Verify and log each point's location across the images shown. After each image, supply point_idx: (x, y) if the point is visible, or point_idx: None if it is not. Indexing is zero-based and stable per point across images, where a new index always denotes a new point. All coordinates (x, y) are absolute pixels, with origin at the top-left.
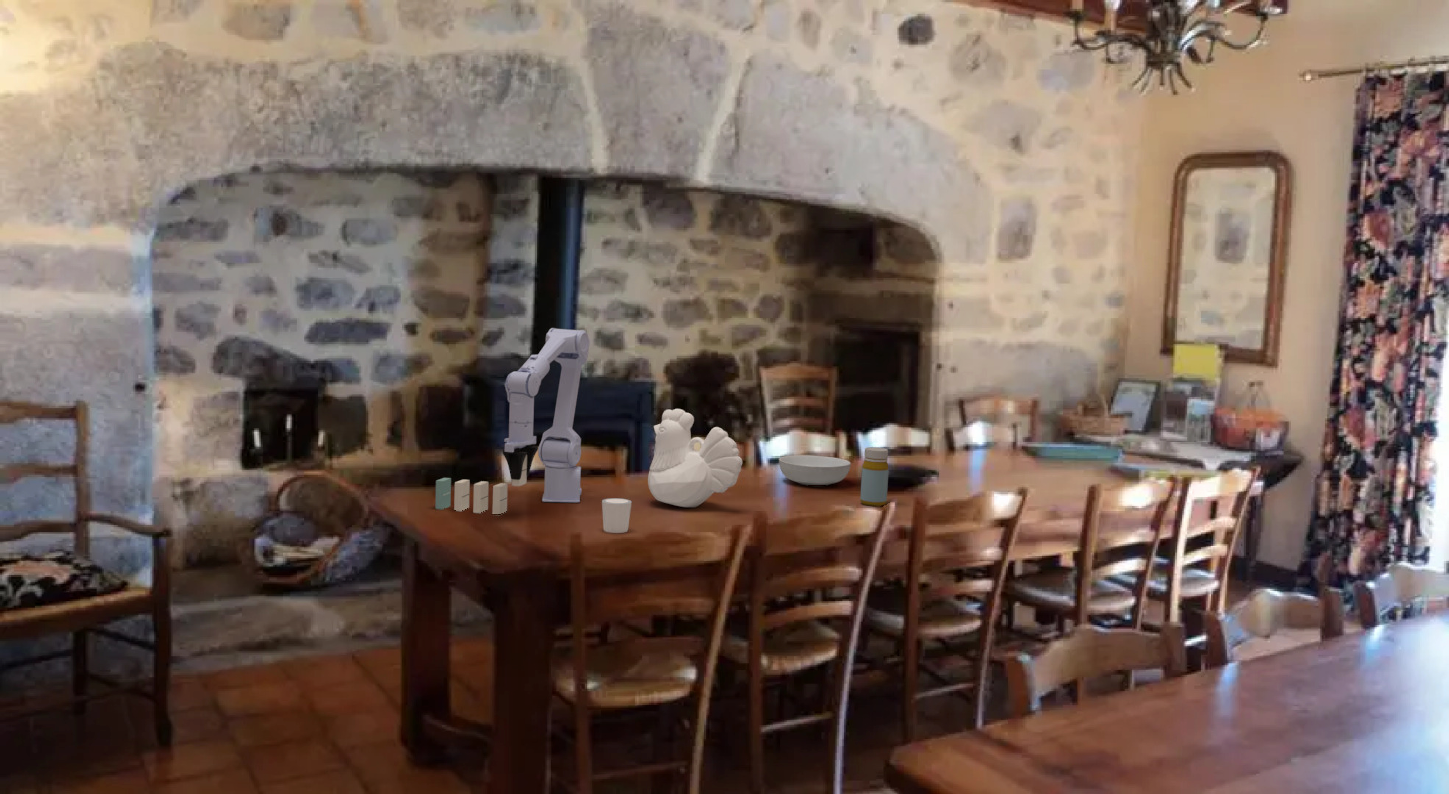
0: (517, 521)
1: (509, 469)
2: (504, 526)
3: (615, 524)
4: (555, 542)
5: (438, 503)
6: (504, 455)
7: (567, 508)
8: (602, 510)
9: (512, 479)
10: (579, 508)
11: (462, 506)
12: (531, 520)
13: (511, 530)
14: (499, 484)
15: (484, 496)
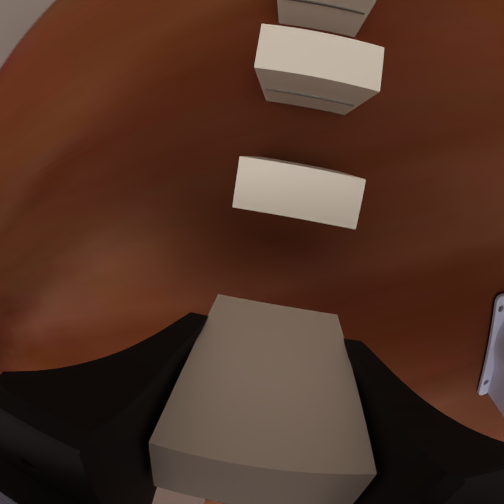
0: (171, 280)
1: (150, 338)
2: (92, 253)
3: None
4: None
5: None
6: (22, 377)
7: (414, 386)
8: (158, 501)
9: (209, 314)
10: None
11: (292, 17)
12: None
13: (62, 285)
14: (308, 183)
15: (311, 94)
